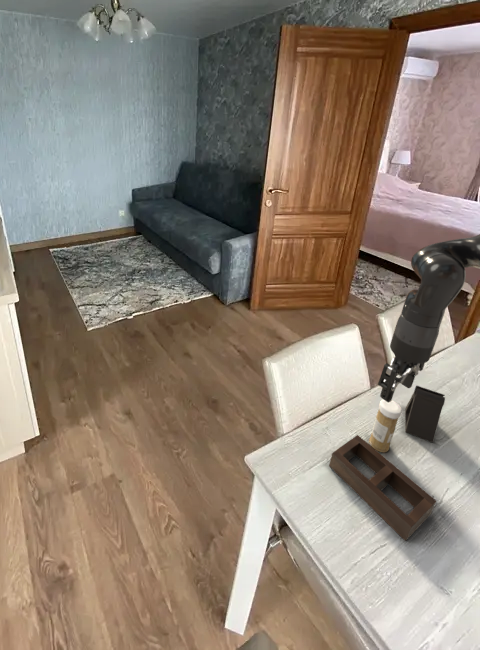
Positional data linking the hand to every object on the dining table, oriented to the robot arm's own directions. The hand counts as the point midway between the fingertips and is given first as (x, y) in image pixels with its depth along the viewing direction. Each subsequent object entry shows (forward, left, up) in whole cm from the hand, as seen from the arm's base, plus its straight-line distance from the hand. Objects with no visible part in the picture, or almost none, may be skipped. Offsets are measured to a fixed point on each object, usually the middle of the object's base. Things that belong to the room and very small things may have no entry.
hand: (395, 392), depth 81 cm
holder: (+11, +6, -18) cm, 22 cm away
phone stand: (-15, +2, -18) cm, 23 cm away
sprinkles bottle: (0, 0, -18) cm, 18 cm away
